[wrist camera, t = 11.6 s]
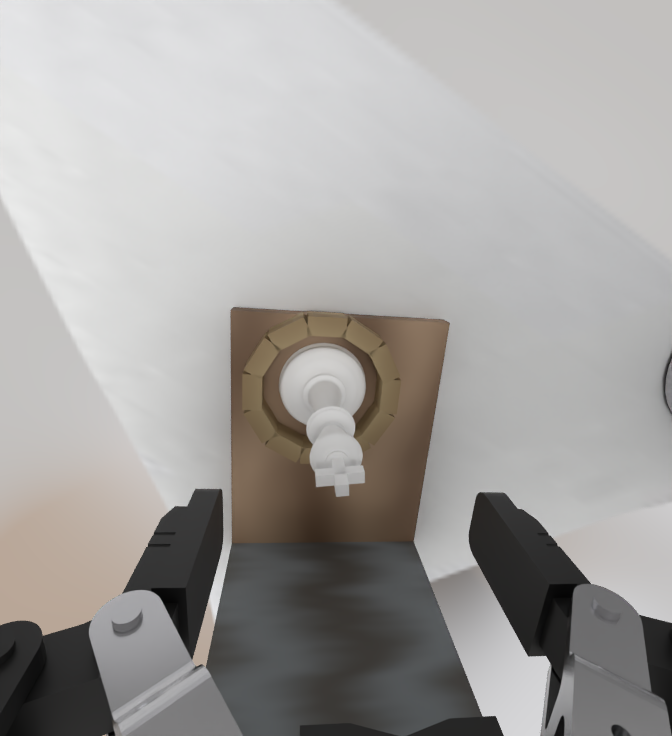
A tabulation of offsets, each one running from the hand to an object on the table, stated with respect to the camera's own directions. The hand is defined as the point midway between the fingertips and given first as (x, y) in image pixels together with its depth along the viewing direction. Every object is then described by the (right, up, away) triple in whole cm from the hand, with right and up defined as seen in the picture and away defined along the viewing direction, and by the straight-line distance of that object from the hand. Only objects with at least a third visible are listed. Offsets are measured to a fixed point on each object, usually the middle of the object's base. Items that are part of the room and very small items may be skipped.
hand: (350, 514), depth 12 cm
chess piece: (-1, +4, +10) cm, 11 cm away
